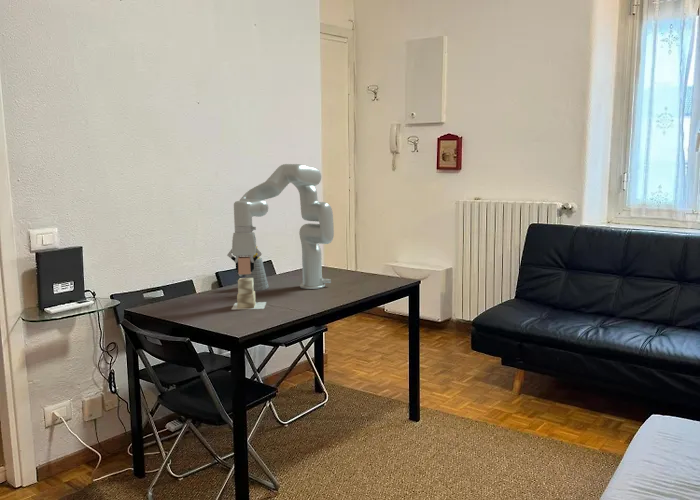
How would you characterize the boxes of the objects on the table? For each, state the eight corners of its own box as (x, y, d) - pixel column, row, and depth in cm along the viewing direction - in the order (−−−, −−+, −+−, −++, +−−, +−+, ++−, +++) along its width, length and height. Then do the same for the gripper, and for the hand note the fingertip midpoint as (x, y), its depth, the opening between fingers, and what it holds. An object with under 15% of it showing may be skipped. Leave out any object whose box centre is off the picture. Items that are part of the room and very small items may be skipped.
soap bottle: (271, 285, 324) (269, 245, 321) (265, 290, 312) (264, 249, 309) (247, 285, 325) (245, 245, 322) (240, 290, 313) (238, 249, 310)
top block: (251, 272, 280) (251, 256, 279) (250, 274, 275) (249, 258, 274) (240, 272, 280) (239, 256, 279) (238, 274, 275) (238, 258, 274)
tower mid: (253, 291, 282) (253, 277, 281) (252, 294, 276) (251, 280, 275) (240, 291, 282) (239, 278, 281) (238, 294, 276) (237, 280, 275)
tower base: (255, 304, 284) (255, 290, 283) (253, 308, 277) (253, 294, 276) (239, 304, 283) (239, 291, 282) (237, 308, 276) (237, 294, 275)
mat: (266, 302, 287) (266, 302, 287) (264, 309, 275) (264, 308, 275) (235, 303, 287) (235, 302, 287) (231, 310, 275) (231, 309, 275)
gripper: (264, 228, 279) (265, 269, 281) (224, 229, 278) (226, 270, 281) (262, 230, 271) (264, 272, 274) (222, 231, 271) (224, 273, 273)
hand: (245, 271), depth 277 cm, fingers closed on top block, 5 cm apart
